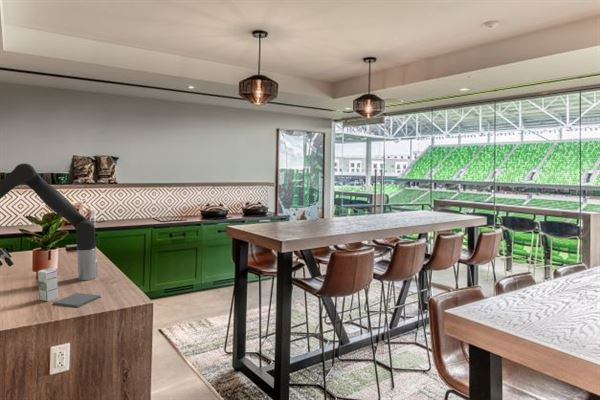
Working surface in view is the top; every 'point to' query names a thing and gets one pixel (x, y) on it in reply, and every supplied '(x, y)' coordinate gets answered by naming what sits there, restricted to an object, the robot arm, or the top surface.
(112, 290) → the top surface
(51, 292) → the syrup box
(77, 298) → the charcoal mat
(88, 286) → the top surface
